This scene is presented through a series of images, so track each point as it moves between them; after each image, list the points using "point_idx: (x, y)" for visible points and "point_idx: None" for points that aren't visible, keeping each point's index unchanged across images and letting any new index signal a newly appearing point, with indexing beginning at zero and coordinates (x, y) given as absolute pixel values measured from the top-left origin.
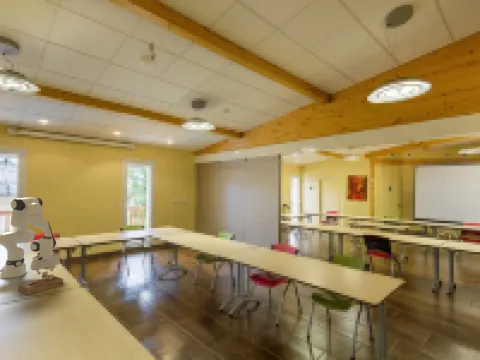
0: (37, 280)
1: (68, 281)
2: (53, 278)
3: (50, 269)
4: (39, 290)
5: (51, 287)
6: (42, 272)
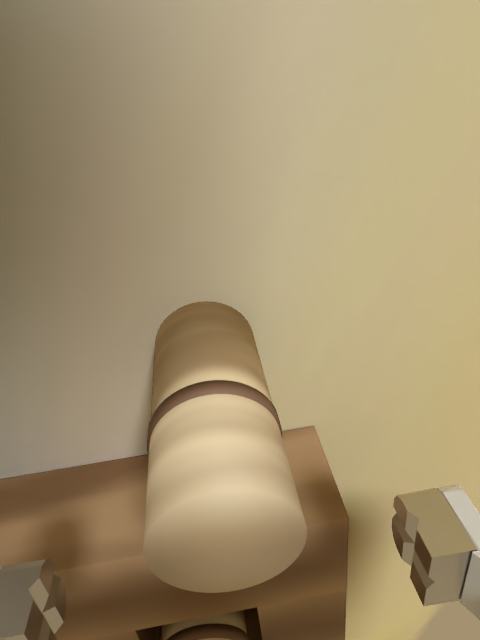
0: None
1: None
2: (263, 634)
3: (423, 554)
4: None
5: None
6: (144, 553)
